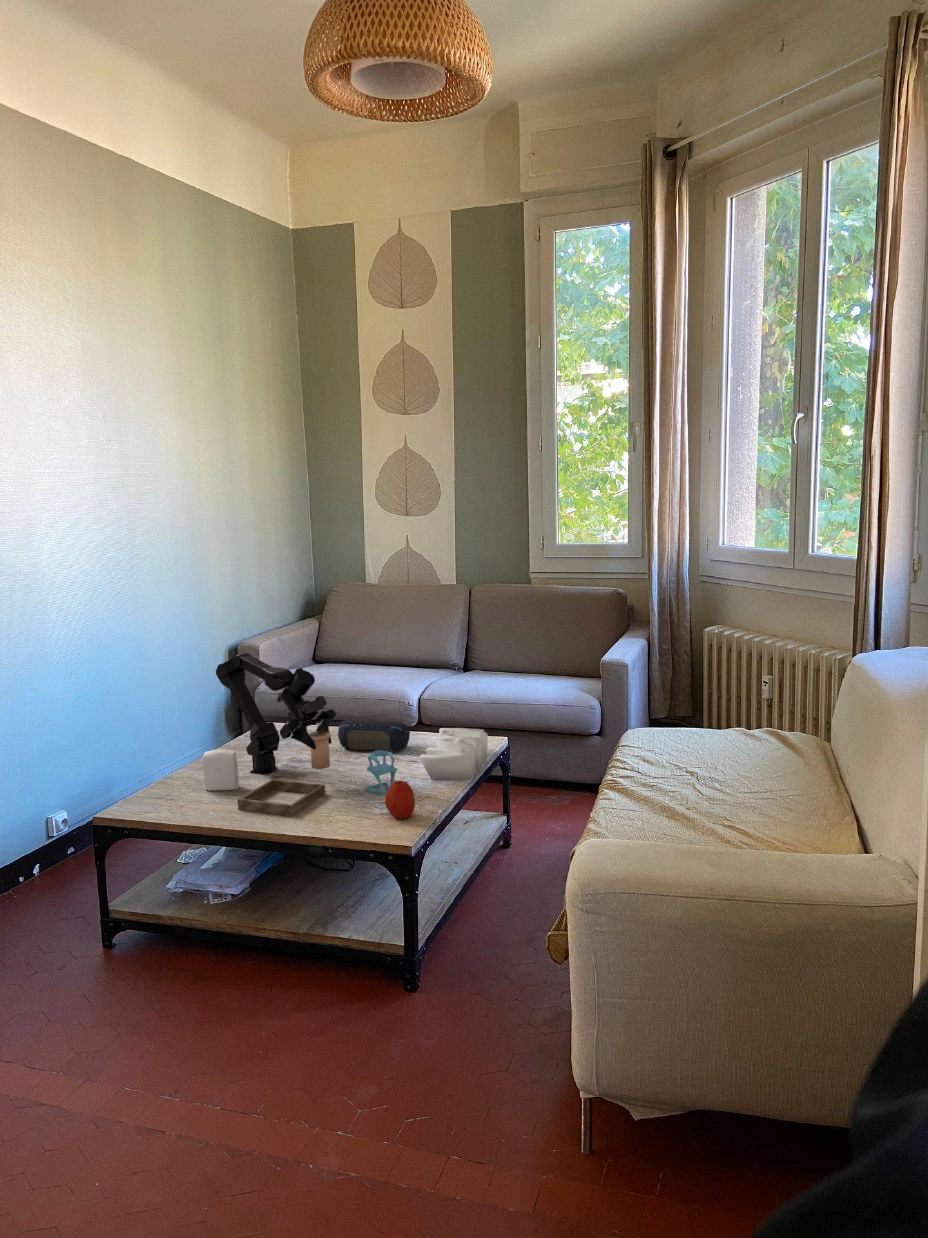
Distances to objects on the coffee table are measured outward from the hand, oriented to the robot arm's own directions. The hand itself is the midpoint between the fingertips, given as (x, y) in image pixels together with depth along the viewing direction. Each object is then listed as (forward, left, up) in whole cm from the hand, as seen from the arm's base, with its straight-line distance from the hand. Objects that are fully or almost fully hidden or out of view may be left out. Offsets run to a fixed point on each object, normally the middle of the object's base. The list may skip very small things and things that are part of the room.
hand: (322, 745), depth 267 cm
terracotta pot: (-1, 0, -7) cm, 7 cm away
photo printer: (-30, -9, -14) cm, 35 cm away
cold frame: (-6, -13, -13) cm, 20 cm away
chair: (+18, +4, -14) cm, 23 cm away
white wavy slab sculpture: (+31, +30, -14) cm, 45 cm away
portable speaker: (-4, +39, -14) cm, 42 cm away
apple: (+32, -13, -14) cm, 37 cm away
